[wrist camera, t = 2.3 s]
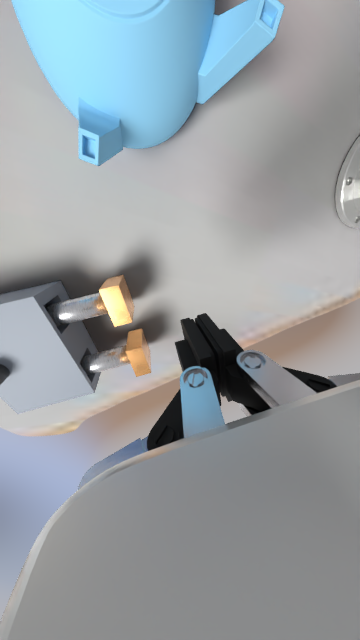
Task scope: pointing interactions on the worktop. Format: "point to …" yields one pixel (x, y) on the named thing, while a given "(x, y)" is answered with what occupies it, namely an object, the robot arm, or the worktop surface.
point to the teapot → (140, 61)
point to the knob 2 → (121, 356)
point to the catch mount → (41, 351)
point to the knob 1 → (96, 305)
